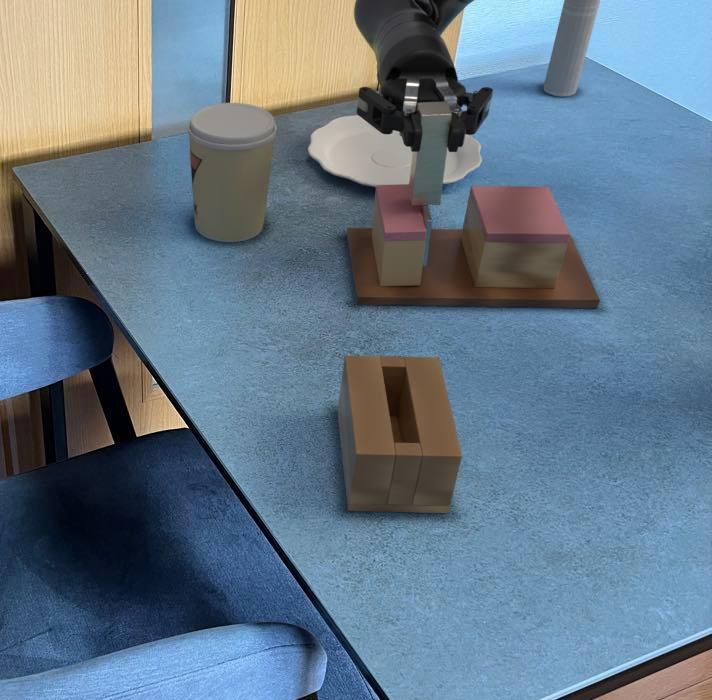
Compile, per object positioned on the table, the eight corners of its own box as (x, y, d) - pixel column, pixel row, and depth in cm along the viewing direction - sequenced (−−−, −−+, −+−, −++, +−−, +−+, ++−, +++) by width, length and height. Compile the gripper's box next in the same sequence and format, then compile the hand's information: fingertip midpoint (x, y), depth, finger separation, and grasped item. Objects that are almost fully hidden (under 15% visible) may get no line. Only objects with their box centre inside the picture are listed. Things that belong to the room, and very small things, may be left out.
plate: (481, 206, 118) (484, 192, 117) (300, 193, 121) (301, 179, 120) (476, 129, 133) (479, 116, 132) (314, 119, 136) (315, 107, 135)
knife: (427, 221, 110) (443, 88, 100) (438, 265, 103) (456, 127, 93) (400, 222, 110) (413, 89, 100) (409, 266, 103) (425, 129, 94)
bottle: (582, 92, 141) (626, -72, 127) (558, 99, 139) (600, -67, 125) (559, 82, 144) (600, -81, 129) (536, 88, 142) (574, -76, 128)
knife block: (427, 413, 92) (439, 356, 87) (448, 513, 82) (462, 456, 78) (337, 411, 92) (344, 355, 88) (347, 511, 83) (356, 453, 78)
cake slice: (409, 236, 111) (414, 183, 107) (420, 285, 104) (426, 231, 100) (371, 237, 112) (375, 184, 107) (380, 286, 105) (385, 232, 100)
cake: (566, 238, 113) (583, 177, 108) (597, 308, 103) (617, 245, 98) (346, 236, 114) (353, 175, 109) (356, 304, 104) (364, 241, 99)
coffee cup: (201, 201, 120) (202, 97, 112) (279, 212, 118) (286, 106, 110) (177, 239, 114) (176, 132, 105) (259, 251, 112) (264, 143, 103)
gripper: (351, 33, 106) (365, 101, 94) (489, 33, 105) (521, 101, 93) (343, 107, 111) (356, 180, 99) (475, 107, 110) (504, 181, 98)
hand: (436, 141), depth 96 cm, fingers closed on knife, 3 cm apart
